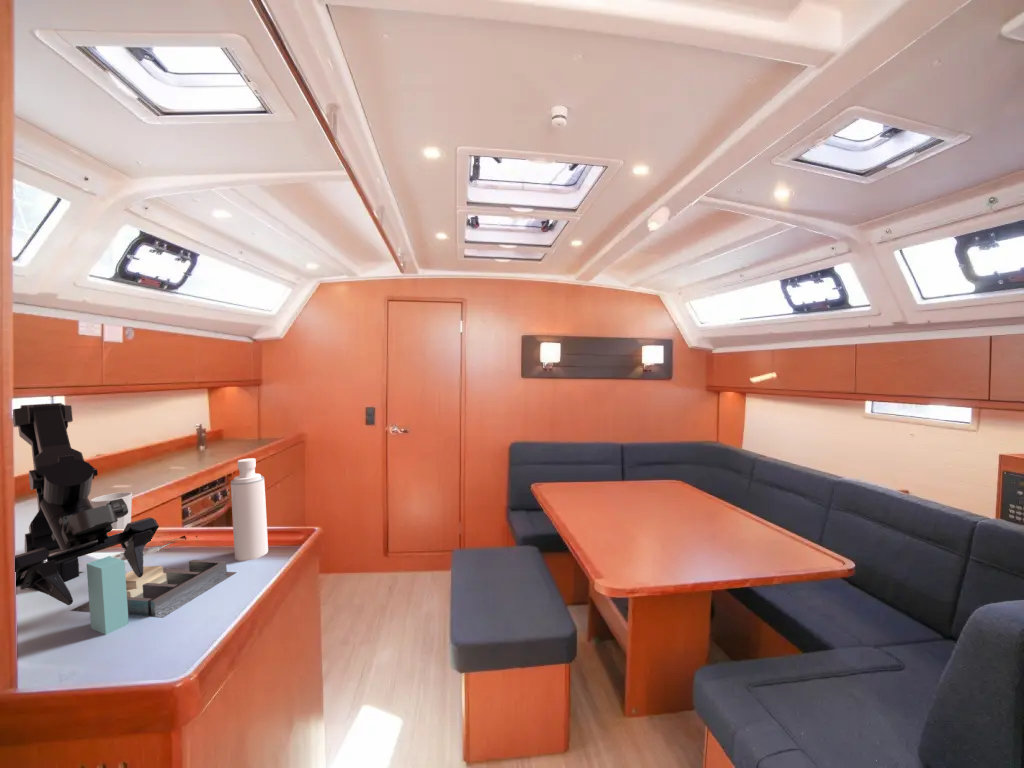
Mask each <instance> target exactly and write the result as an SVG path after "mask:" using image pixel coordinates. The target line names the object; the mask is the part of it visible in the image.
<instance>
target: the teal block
mask: <svg viewBox="0 0 1024 768" xmlns="http://www.w3.org/2000/svg"><path fill="white" fill-rule="evenodd" d="M125 565H126V564H125V560H123V559H120V558H116V557H113V556H111V555H109V556H105V557H103V558H100V559H97V560H94V561H90V562H88V563H86V575H87V576H86V577H87V590H88V602H89V607H90V612H89V618H90V619H89V621H90V629H92V630H94V631H97V632H98V633H101V634H103V635H105V636H106V635H109V634H111V633H113V632H115V631H117V630H119V629H121V628H123V627H124V628H125V627H126V626H128V625H129V624H130V623H129V615H128V606H127V591H126V576H125V574H126V566H125Z"/></svg>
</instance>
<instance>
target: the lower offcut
mask: <svg viewBox="0 0 1024 768" xmlns="http://www.w3.org/2000/svg"><path fill="white" fill-rule="evenodd" d="M166 580H167V578H166V573H162V574H161V575H159V576H157V577H156V578H154V579H152V580H150V581H149V582H147V583H159V584H160V583H162V582H164V581H166ZM126 591H127V597H136V596H138V595H139V594H141V593H143V585H142V586H140V587H138V588H136V589H126Z"/></svg>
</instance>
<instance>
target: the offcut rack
mask: <svg viewBox="0 0 1024 768" xmlns="http://www.w3.org/2000/svg"><path fill="white" fill-rule="evenodd" d="M188 567H189V568H188V569H183V568H182V569H181V568H164V567H163V573H166V578H167V580H166V581H164V582H162V583H160V584H159V583H145V584H143V593H141V594H139V595H138V596H136V597H127V606H128V616H137V617H150V618H151V617H152V618H165V617H167V616H168V615H170V614H171V613H173V612H175V611H176V610H178V609H180V608H181V607H183V606H184V605H186V604H188V603H189V602H191V601H193V600H194V599H196V598H198V597H199V596H202V595H203V594H204V593H206V592H208V591H209V590H211V589H213V588H214V587H215V586H217V585H219V584H220V583H222V582H224V581H225V580H227V579H229V578H230V577H232V576H233V575H236V574H238V573H237V571H228V570H227V561H226V560H223V561H221V560H207V559H205V560H204V559H191V560H189V561H188ZM69 611H70V612H79V613H80V612H83V613H90V607H89V601H87V602H85V603H82V604H80V605H79V606H76V607H75V608H73V609H70V610H69Z"/></svg>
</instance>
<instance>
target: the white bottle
mask: <svg viewBox="0 0 1024 768" xmlns="http://www.w3.org/2000/svg"><path fill="white" fill-rule="evenodd" d="M256 460H257V459H256V458H254V457H251V458H249V457H248V458H242V459H238V460H237V470H238V471H239V475H237V476H234V477H233V479H232V480H231V481H230V491H231V492H230V493H231V494H230V495H231V510H232V511H231V513H232V528H233V529H232V530H233V531H232V532H233V547H234V550H233V551H234V560H236V561H239V562H240V561H241V562H244V561H245V562H247V561H252V560H255V559H259V558H261V557H263V556H265V555H267V553H268V552H269V543H268V520H267V505H266V502H267V501H266V486H265V476H264V475H262V474H260V473H256V467H257V462H256Z"/></svg>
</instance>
